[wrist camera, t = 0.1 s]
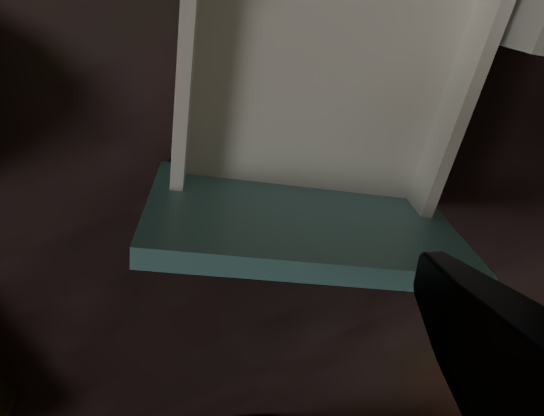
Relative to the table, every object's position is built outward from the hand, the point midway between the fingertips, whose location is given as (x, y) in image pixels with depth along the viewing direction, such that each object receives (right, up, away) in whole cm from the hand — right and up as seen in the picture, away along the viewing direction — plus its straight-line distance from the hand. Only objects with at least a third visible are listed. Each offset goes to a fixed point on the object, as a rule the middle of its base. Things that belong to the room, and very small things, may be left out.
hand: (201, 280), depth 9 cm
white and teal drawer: (+4, +8, +13) cm, 15 cm away
